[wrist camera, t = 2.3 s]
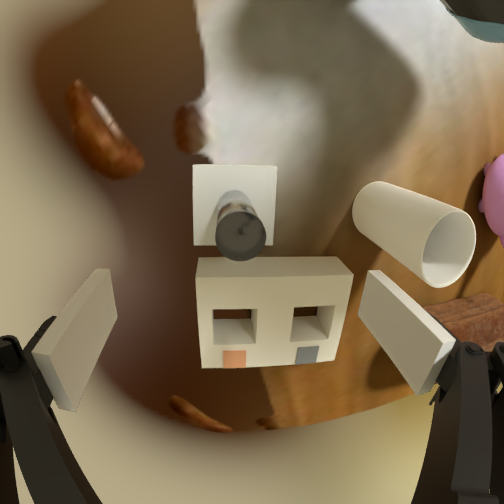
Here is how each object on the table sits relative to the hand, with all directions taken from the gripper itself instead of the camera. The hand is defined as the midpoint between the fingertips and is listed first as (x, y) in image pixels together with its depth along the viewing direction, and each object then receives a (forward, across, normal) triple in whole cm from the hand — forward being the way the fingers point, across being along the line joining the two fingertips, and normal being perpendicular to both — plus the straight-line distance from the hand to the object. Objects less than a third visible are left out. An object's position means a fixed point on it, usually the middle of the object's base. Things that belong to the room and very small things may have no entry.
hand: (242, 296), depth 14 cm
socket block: (+24, +6, -14) cm, 28 cm away
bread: (+24, +44, -21) cm, 54 cm away
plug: (+22, +1, 0) cm, 22 cm away
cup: (+23, +21, 0) cm, 31 cm away
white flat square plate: (+23, +1, 0) cm, 23 cm away
